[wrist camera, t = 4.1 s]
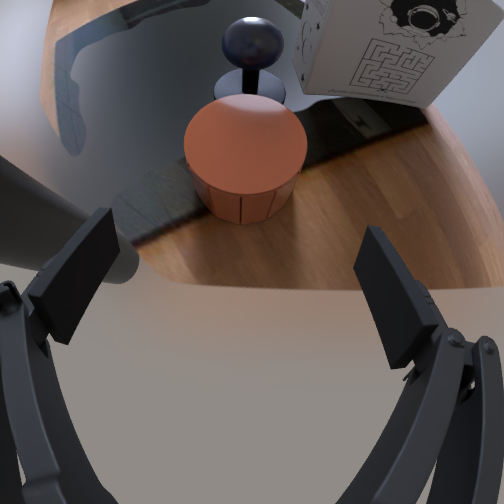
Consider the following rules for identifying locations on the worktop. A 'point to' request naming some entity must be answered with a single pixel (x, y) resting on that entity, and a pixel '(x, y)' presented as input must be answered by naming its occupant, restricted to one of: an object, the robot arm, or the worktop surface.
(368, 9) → the cereal box
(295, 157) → the terracotta cap
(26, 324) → the robot arm
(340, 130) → the worktop surface
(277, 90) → the ball stand
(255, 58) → the ball
